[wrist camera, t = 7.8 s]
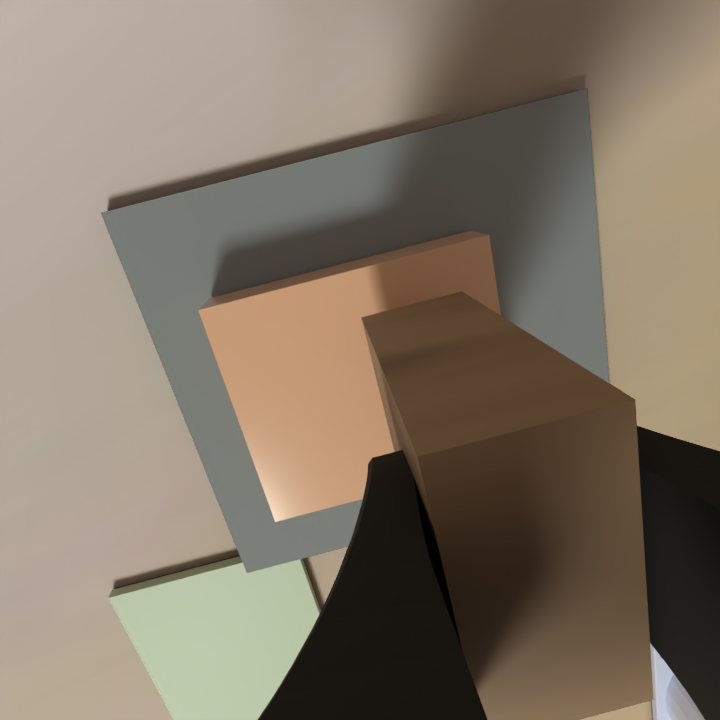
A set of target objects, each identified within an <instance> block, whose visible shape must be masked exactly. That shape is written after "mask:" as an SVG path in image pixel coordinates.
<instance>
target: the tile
mask: <svg viewBox="0 0 720 720" xmlns="http://www.w3.org/2000/svg"><path fill="white" fill-rule="evenodd" d="M461 291H462V292H464V293H465V294H467V295H469V296H470V297H472V298H473V299H475V300H477V301H478V302H480V303H481V304H483V305H485V306H486V307H488V308H489V309H491V310H493V311H494V312H496V313H497V314H499V315H501V312H500V305H499V299H498V292H497V285H496V278H495V272H494V265H493V258H492V251H491V244H490V238H489V235H487V234H483V233H479V232H475V231H467V232H463V233H459V234H456V235H452V236H448V237H444V238H440V239H436V240H432V241H428V242H425V243H421V244H417V245H413V246H409V247H405V248H401V249H397V250H394V251H390V252H386V253H382V254H378V255H374V256H370V257H367V258H363V259H359V260H355V261H351V262H347V263H343V264H339V265H336V266H332V267H328V268H324V269H320V270H316V271H312V272H309V273H305V274H301V275H297V276H293V277H289V278H285V279H281V280H278V281H274V282H270V283H266V284H262V285H258V286H254V287H251V288H247V289H243V290H239V291H235V292H231V293H227V294H223V295H220V296H216V297H212V298H209V299H208V300H207V302H206V303H205V304H204V305H203V306H202V307H201V308H200V309H199V310H198V311H199V314H200V317H201V319H202V322H203V325H204V328H205V330H206V333H207V336H208V339H209V341H210V344H211V347H212V350H213V352H214V355H215V358H216V361H217V363H218V366H219V369H220V372H221V374H222V377H223V380H224V383H225V385H226V388H227V391H228V394H229V396H230V399H231V402H232V405H233V407H234V410H235V413H236V416H237V418H238V421H239V424H240V427H241V429H242V432H243V435H244V438H245V440H246V443H247V446H248V449H249V451H250V454H251V457H252V460H253V462H254V465H255V468H256V471H257V473H258V476H259V479H260V482H261V484H262V487H263V490H264V493H265V495H266V498H267V501H268V504H269V506H270V509H271V512H272V515H273V517H274V520H275V522H277V521H281V520H285V519H289V518H292V517H296V516H300V515H304V514H308V513H311V512H315V511H319V510H323V509H327V508H330V507H334V506H338V505H342V504H346V503H349V502H353V501H357V500H361V499H363V496H364V491H365V486H366V481H367V473H368V463H369V462H370V460H371V459H372V458H373V457H377V456H381V455H385V454H389V453H392V452H395V451H394V447H393V443H392V439H391V435H390V431H389V427H388V423H387V419H386V415H385V411H384V407H383V403H382V399H381V395H380V391H379V387H378V383H377V379H376V375H375V371H374V367H373V363H372V359H371V355H370V351H369V347H368V343H367V339H366V335H365V331H364V327H363V323H362V319H361V317H365V316H369V315H372V314H376V313H380V312H384V311H388V310H392V309H396V308H399V307H403V306H407V305H411V304H415V303H419V302H423V301H426V300H430V299H434V298H438V297H442V296H446V295H450V294H453V293H457V292H461Z"/></svg>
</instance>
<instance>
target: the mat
mask: <svg viewBox="0 0 720 720" xmlns="http://www.w3.org/2000/svg"><path fill="white" fill-rule="evenodd" d="M101 214H102V217H103V219H104V222H105V224H106V227H107V229H108V232H109V234H110V237H111V239H112V241H113V244H114V246H115V249H116V251H117V254H118V256H119V259H120V261H121V264H122V266H123V269H124V271H125V274H126V276H127V279H128V281H129V283H130V286H131V288H132V291H133V293H134V296H135V298H136V301H137V303H138V306H139V308H140V311H141V313H142V316H143V318H144V320H145V323H146V325H147V328H148V330H149V333H150V335H151V338H152V340H153V343H154V345H155V348H156V350H157V353H158V355H159V358H160V360H161V362H162V365H163V367H164V370H165V372H166V375H167V377H168V380H169V382H170V385H171V387H172V390H173V392H174V395H175V397H176V399H177V402H178V404H179V407H180V409H181V412H182V414H183V417H184V419H185V422H186V424H187V427H188V429H189V432H190V434H191V437H192V439H193V441H194V444H195V446H196V449H197V451H198V454H199V456H200V459H201V461H202V464H203V466H204V469H205V471H206V474H207V476H208V479H209V481H210V483H211V486H212V488H213V491H214V493H215V496H216V498H217V501H218V503H219V506H220V508H221V511H222V513H223V516H224V518H225V520H226V523H227V525H228V528H229V530H230V533H231V535H232V538H233V540H234V543H235V545H236V548H237V550H238V553H239V555H240V558H241V560H242V562H243V565H244V567H245V570H246V572H247V573H250V572H254V571H257V570H261V569H265V568H269V567H272V566H276V565H280V564H284V563H288V562H291V561H295V560H299V559H303V558H307V557H310V556H314V555H318V554H322V553H325V552H329V551H333V550H337V549H341V548H344V547H348V546H349V543H350V541H351V538H352V535H353V532H354V529H355V525H356V522H357V518H358V515H359V511H360V508H361V504H362V500H363V499H361V500H357V501H353V502H349V503H346V504H342V505H338V506H334V507H330V508H327V509H323V510H319V511H315V512H311V513H308V514H304V515H300V516H296V517H292V518H289V519H285V520H281V521H277V522H275V520H274V517H273V515H272V512H271V509H270V506H269V504H268V501H267V498H266V495H265V493H264V490H263V487H262V484H261V482H260V479H259V476H258V473H257V471H256V468H255V465H254V462H253V460H252V457H251V454H250V451H249V449H248V446H247V443H246V440H245V438H244V435H243V432H242V429H241V427H240V424H239V421H238V418H237V416H236V413H235V410H234V407H233V405H232V402H231V399H230V396H229V394H228V391H227V388H226V385H225V383H224V380H223V377H222V374H221V372H220V369H219V366H218V363H217V361H216V358H215V355H214V352H213V350H212V347H211V344H210V341H209V339H208V336H207V333H206V330H205V328H204V325H203V322H202V319H201V317H200V314H199V311H198V310H199V309H200V308H201V307H202V306H203V305H204V304H205V303H206V302H207V300H208V299H209V298H212V297H216V296H220V295H223V294H227V293H231V292H235V291H239V290H243V289H247V288H251V287H254V286H258V285H262V284H266V283H270V282H274V281H278V280H281V279H285V278H289V277H293V276H297V275H301V274H305V273H309V272H312V271H316V270H320V269H324V268H328V267H332V266H336V265H339V264H343V263H347V262H351V261H355V260H359V259H363V258H367V257H370V256H374V255H378V254H382V253H386V252H390V251H394V250H397V249H401V248H405V247H409V246H413V245H417V244H421V243H425V242H428V241H432V240H436V239H440V238H444V237H448V236H452V235H456V234H459V233H463V232H467V231H475V232H479V233H483V234H487V235H489V238H490V244H491V251H492V258H493V265H494V272H495V278H496V285H497V292H498V299H499V305H500V312H501V316H502V317H504V318H505V319H507V320H509V321H510V322H512V323H513V324H515V325H517V326H518V327H520V328H521V329H523V330H525V331H526V332H528V333H529V334H531V335H533V336H534V337H536V338H537V339H539V340H541V341H542V342H544V343H545V344H547V345H549V346H550V347H552V348H553V349H555V350H557V351H558V352H560V353H561V354H563V355H565V356H566V357H568V358H569V359H571V360H573V361H574V362H576V363H577V364H579V365H581V366H582V367H584V368H585V369H587V370H589V371H590V372H592V373H593V374H595V375H597V376H598V377H600V378H601V379H603V380H605V381H606V382H608V383H609V376H608V362H607V349H606V335H605V321H604V308H603V294H602V281H601V267H600V253H599V240H598V226H597V212H596V199H595V185H594V171H593V158H592V144H591V131H590V117H589V103H588V90H587V88H586V89H582V90H578V91H574V92H571V93H567V94H563V95H559V96H555V97H551V98H547V99H543V100H539V101H535V102H532V103H528V104H524V105H520V106H516V107H512V108H508V109H504V110H500V111H496V112H493V113H489V114H485V115H481V116H477V117H473V118H469V119H465V120H461V121H457V122H454V123H450V124H446V125H442V126H438V127H434V128H430V129H426V130H422V131H418V132H414V133H411V134H407V135H403V136H399V137H395V138H391V139H387V140H383V141H379V142H375V143H372V144H368V145H364V146H360V147H356V148H352V149H348V150H344V151H340V152H336V153H333V154H329V155H325V156H321V157H317V158H313V159H309V160H305V161H301V162H297V163H294V164H290V165H286V166H282V167H278V168H274V169H270V170H266V171H262V172H258V173H254V174H251V175H247V176H243V177H239V178H235V179H231V180H227V181H223V182H219V183H215V184H212V185H208V186H204V187H200V188H196V189H192V190H188V191H184V192H180V193H176V194H173V195H169V196H165V197H161V198H157V199H153V200H149V201H145V202H141V203H137V204H134V205H130V206H126V207H122V208H118V209H114V210H110V211H106V212H102V213H101Z"/></svg>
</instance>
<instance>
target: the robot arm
mask: <svg viewBox="0 0 720 720" xmlns="http://www.w3.org/2000/svg"><path fill="white" fill-rule="evenodd" d="M637 439H638V455H639V471H640V488H641V504H642V520H643V536H644V553H645V569H646V585H647V602H648V618H649V634H650V651H651V667H652V683H653V699H654V700H652V710H653V720H720V451H717V450H713V449H710V448H706V447H703V446H700V445H696V444H693V443H689V442H686V441H683V440H680V439H676V438H673V437H670V436H667V435H664V434H660V433H657V432H654V431H651V430H648V429H645V428H642V427H639V426H637ZM258 720H488V719H487V717H486V714H485V711H484V708H483V706H482V703H481V700H480V698H479V695H478V692H477V690H476V687H475V684H474V681H473V679H472V676H471V673H470V671H469V668H468V665H467V663H466V660H465V657H464V654H463V652H462V649H461V646H460V643H459V641H458V638H457V635H456V632H455V629H454V627H453V624H452V621H451V618H450V616H449V613H448V610H447V607H446V604H445V602H444V599H443V596H442V593H441V590H440V587H439V583H438V579H437V574H436V570H435V566H434V562H433V558H432V553H431V549H430V545H429V541H428V536H427V532H426V528H425V524H424V520H423V515H422V511H421V507H420V503H419V499H418V494H417V490H416V486H415V482H414V478H413V474H412V471H411V469H410V466H409V464H408V462H407V459H406V457H405V455H404V453H403V451H402V450H400V451H396V452H392V453H389V454H385V455H381V456H377V457H373V458H372V459H371V460H370V462H369V463H368V473H367V481H366V486H365V491H364V496H363V500H362V504H361V508H360V511H359V515H358V518H357V522H356V525H355V529H354V532H353V535H352V538H351V541H350V543H349V546H348V549H347V551H346V554H345V557H344V559H343V562H342V565H341V567H340V570H339V573H338V575H337V577H336V580H335V582H334V584H333V587H332V589H331V591H330V593H329V595H328V598H327V600H326V602H325V604H324V606H323V608H322V610H321V612H320V614H319V616H318V618H317V620H316V622H315V624H314V626H313V628H312V630H311V632H310V634H309V635H308V637H307V639H306V641H305V643H304V644H303V646H302V648H301V650H300V652H299V653H298V655H297V657H296V659H295V661H294V662H293V664H292V666H291V668H290V669H289V671H288V673H287V674H286V676H285V678H284V679H283V681H282V683H281V684H280V686H279V688H278V689H277V691H276V693H275V694H274V696H273V697H272V699H271V700H270V702H269V703H268V705H267V706H266V708H265V709H264V711H263V712H262V714H261V715H260V717H259V718H258Z"/></svg>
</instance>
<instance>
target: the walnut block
mask: <svg viewBox="0 0 720 720" xmlns="http://www.w3.org/2000/svg"><path fill="white" fill-rule="evenodd" d="M361 319H362V323H363V327H364V331H365V335H366V339H367V343H368V347H369V351H370V355H371V359H372V363H373V367H374V371H375V375H376V379H377V383H378V387H379V391H380V395H381V399H382V403H383V407H384V411H385V415H386V419H387V423H388V427H389V431H390V435H391V439H392V443H393V447H394V451H395V452H396V451H400V450H402V451H403V453H404V455H405V457H406V459H407V462H408V464H409V466H410V469H411V471H412V474H413V478H414V482H415V486H416V490H417V494H418V499H419V503H420V507H421V511H422V515H423V520H424V524H425V528H426V532H427V536H428V541H429V545H430V549H431V553H432V558H433V562H434V566H435V570H436V574H437V579H438V583H439V587H440V590H441V593H442V596H443V599H444V602H445V604H446V607H447V610H448V613H449V616H450V618H451V621H452V624H453V627H454V629H455V632H456V635H457V638H458V641H459V643H460V646H461V649H462V652H463V654H464V657H465V660H466V663H467V665H468V668H469V671H470V673H471V676H472V679H473V681H474V684H475V687H476V690H477V692H478V695H479V698H480V700H481V703H482V706H483V708H484V711H485V714H486V717H487V719H488V720H580V719H584V718H587V717H591V716H595V715H598V714H602V713H606V712H610V711H613V710H617V709H621V708H624V707H628V706H632V705H636V704H639V703H643V702H647V701H651V700H654V699H653V683H652V667H651V651H650V634H649V618H648V602H647V585H646V569H645V553H644V536H643V520H642V504H641V488H640V471H639V455H638V439H637V422H636V406H635V399H633V398H632V397H630V396H629V395H627V394H625V393H624V392H622V391H621V390H619V389H617V388H616V387H614V386H613V385H611V384H609V383H608V382H606V381H605V380H603V379H601V378H600V377H598V376H597V375H595V374H593V373H592V372H590V371H589V370H587V369H585V368H584V367H582V366H581V365H579V364H577V363H576V362H574V361H573V360H571V359H569V358H568V357H566V356H565V355H563V354H561V353H560V352H558V351H557V350H555V349H553V348H552V347H550V346H549V345H547V344H545V343H544V342H542V341H541V340H539V339H537V338H536V337H534V336H533V335H531V334H529V333H528V332H526V331H525V330H523V329H521V328H520V327H518V326H517V325H515V324H513V323H512V322H510V321H509V320H507V319H505V318H504V317H502V316H501V315H499V314H497V313H496V312H494V311H493V310H491V309H489V308H488V307H486V306H485V305H483V304H481V303H480V302H478V301H477V300H475V299H473V298H472V297H470V296H469V295H467V294H465V293H464V292H462V291H461V292H457V293H453V294H450V295H446V296H442V297H438V298H434V299H430V300H426V301H423V302H419V303H415V304H411V305H407V306H403V307H399V308H396V309H392V310H388V311H384V312H380V313H376V314H372V315H369V316H365V317H361Z"/></svg>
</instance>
